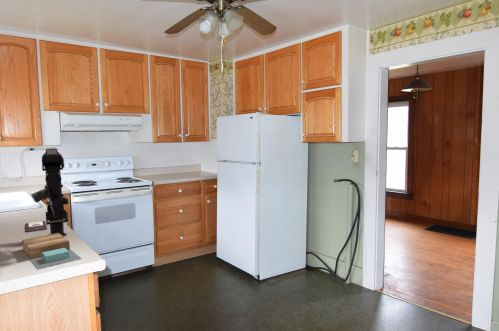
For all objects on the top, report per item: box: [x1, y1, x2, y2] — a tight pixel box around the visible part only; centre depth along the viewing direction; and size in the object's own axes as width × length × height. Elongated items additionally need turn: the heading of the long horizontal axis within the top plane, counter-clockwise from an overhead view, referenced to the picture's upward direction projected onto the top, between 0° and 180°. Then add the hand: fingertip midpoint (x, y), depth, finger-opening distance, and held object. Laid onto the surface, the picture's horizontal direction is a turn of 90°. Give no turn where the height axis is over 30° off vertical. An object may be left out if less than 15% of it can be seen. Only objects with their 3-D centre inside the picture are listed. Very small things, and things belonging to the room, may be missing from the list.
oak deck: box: [21, 233, 71, 259], centre depth 148 cm, size 16×14×4 cm
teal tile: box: [42, 248, 69, 263], centre depth 138 cm, size 6×8×2 cm
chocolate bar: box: [25, 220, 48, 233], centre depth 183 cm, size 9×1×18 cm
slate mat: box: [29, 249, 82, 270], centre depth 137 cm, size 13×15×1 cm
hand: (56, 217), depth 154 cm, fingers closed
